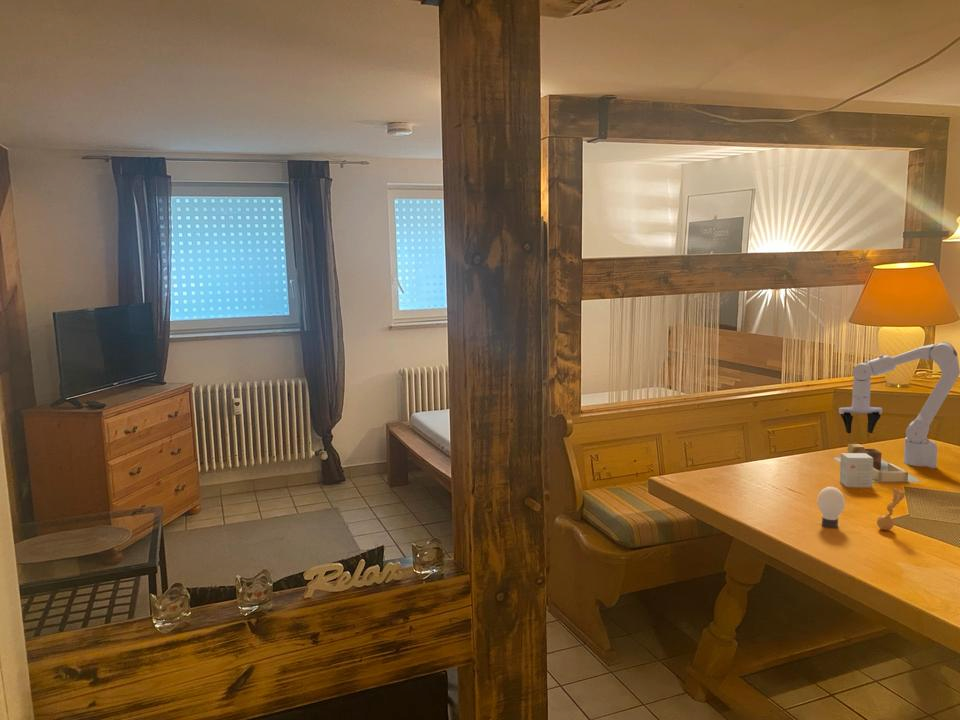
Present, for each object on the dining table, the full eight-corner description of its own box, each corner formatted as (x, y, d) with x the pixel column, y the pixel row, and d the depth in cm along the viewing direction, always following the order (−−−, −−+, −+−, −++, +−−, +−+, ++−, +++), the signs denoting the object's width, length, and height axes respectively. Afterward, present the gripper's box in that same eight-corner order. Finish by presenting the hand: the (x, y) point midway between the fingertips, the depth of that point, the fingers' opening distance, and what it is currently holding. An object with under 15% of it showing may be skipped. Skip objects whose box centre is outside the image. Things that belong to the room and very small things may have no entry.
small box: (864, 484, 229) (866, 452, 228) (872, 489, 224) (874, 457, 222) (838, 484, 230) (840, 452, 229) (845, 489, 225) (847, 457, 223)
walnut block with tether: (859, 457, 256) (860, 441, 256) (880, 469, 242) (881, 452, 241) (845, 457, 257) (846, 441, 256) (865, 469, 242) (866, 452, 241)
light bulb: (823, 530, 192) (825, 491, 191) (811, 521, 199) (813, 483, 198) (848, 529, 193) (850, 490, 191) (835, 520, 199) (837, 482, 198)
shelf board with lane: (878, 459, 256) (878, 449, 255) (921, 483, 228) (922, 472, 228) (832, 459, 257) (833, 449, 256) (870, 484, 229) (871, 472, 229)
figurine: (878, 523, 196) (880, 482, 194) (903, 527, 193) (906, 485, 191) (875, 533, 189) (877, 490, 188) (901, 538, 186) (903, 494, 184)
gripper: (876, 393, 259) (874, 429, 261) (835, 394, 260) (834, 430, 262) (886, 397, 252) (884, 434, 254) (844, 398, 253) (842, 434, 255)
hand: (859, 432), depth 257 cm, fingers open, 7 cm apart
